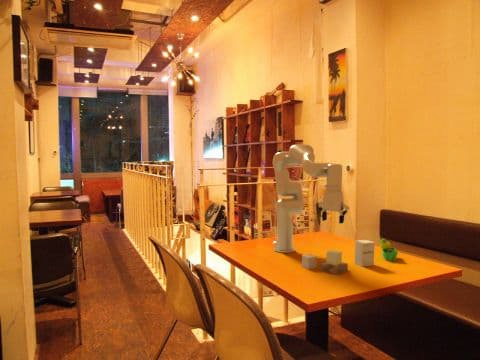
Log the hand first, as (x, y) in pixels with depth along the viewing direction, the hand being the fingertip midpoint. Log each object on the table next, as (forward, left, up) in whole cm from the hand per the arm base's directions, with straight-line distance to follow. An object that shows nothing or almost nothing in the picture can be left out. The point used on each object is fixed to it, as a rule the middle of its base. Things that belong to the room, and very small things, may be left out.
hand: (332, 221), depth 192 cm
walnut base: (+2, -1, -25) cm, 25 cm away
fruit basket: (+12, +41, -25) cm, 49 cm away
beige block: (+2, -1, -21) cm, 21 cm away
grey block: (-10, -5, -25) cm, 27 cm away
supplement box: (+8, +20, -25) cm, 33 cm away
